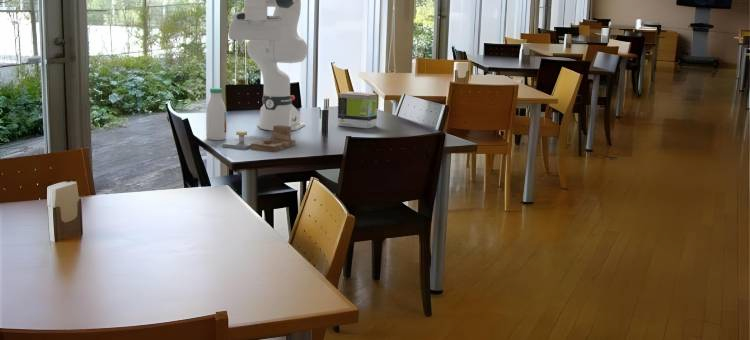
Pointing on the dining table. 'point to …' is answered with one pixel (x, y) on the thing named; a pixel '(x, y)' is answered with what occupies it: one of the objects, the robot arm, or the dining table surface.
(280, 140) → the wooden stepped block
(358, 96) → the tea box
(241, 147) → the boss board
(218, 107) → the milk bottle
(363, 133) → the dining table surface
